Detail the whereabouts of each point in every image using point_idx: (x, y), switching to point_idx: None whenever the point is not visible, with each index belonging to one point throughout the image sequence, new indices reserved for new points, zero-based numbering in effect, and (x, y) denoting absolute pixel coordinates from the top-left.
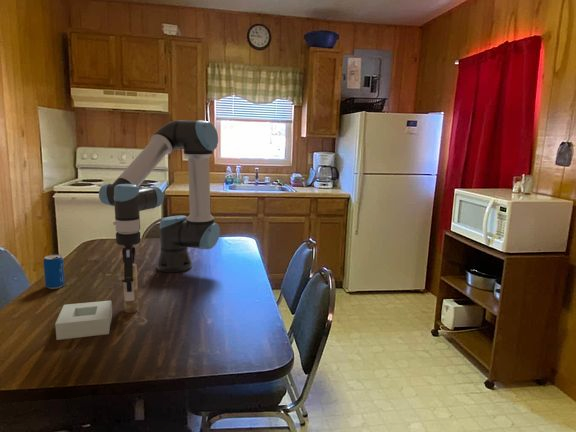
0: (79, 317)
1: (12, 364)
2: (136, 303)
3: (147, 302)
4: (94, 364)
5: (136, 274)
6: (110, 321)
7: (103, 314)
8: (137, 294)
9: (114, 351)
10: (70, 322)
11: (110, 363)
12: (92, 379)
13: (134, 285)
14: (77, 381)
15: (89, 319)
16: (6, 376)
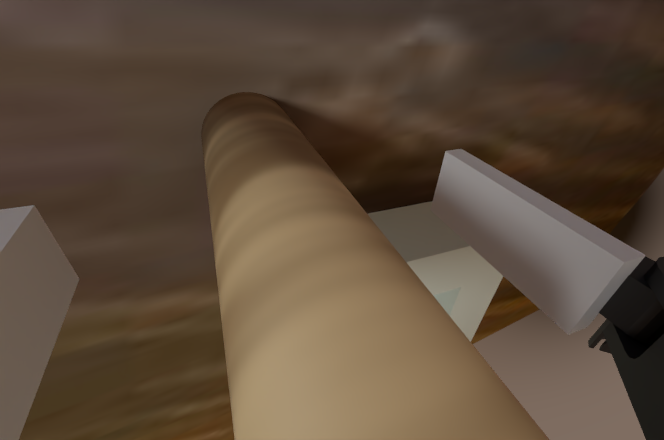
0: (455, 322)
1: (489, 329)
2: (290, 120)
3: (72, 10)
4: (602, 187)
5: (407, 303)
6: (395, 215)
7: (478, 260)
8: (288, 137)
9: (586, 149)
10: (477, 327)
11: (630, 148)
12: (649, 175)
13: (365, 213)
14: (630, 202)
15: (490, 288)
16: (522, 316)
